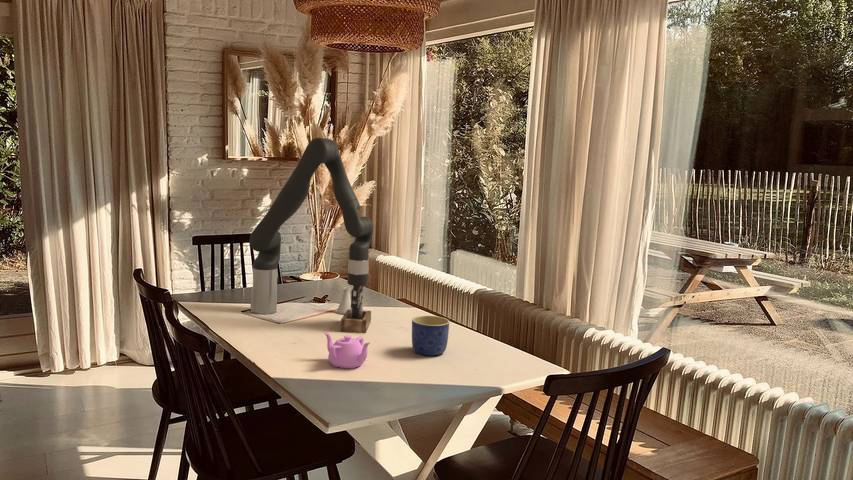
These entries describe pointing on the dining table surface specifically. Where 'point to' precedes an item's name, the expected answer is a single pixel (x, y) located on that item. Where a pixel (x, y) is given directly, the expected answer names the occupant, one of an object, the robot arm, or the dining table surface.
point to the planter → (430, 334)
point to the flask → (345, 301)
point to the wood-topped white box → (360, 311)
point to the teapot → (346, 351)
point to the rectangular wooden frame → (355, 323)
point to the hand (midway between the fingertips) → (356, 314)
